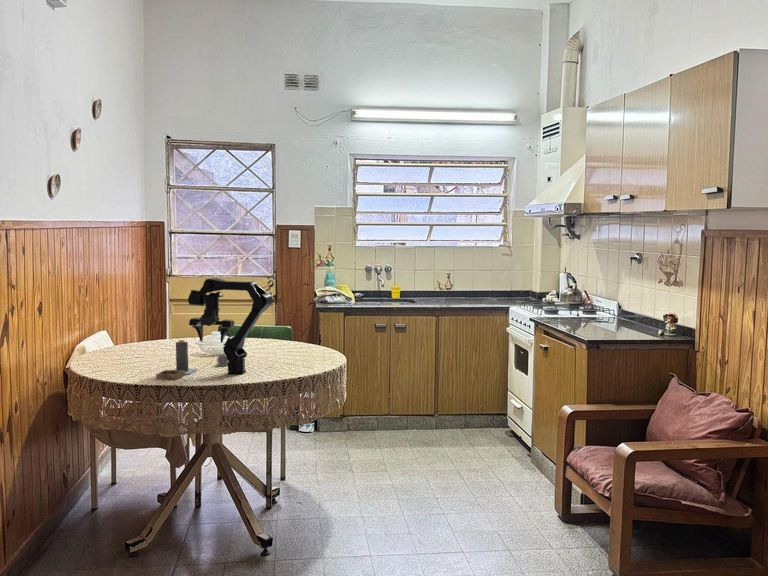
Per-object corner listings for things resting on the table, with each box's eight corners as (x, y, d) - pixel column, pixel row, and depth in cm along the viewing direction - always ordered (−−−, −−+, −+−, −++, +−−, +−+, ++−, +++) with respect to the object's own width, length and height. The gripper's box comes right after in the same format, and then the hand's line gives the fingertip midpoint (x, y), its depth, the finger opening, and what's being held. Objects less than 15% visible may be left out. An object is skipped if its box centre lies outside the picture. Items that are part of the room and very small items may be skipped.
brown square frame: (185, 375, 304) (185, 370, 304) (177, 379, 295) (177, 375, 295) (165, 374, 305) (164, 370, 305) (156, 379, 296) (156, 374, 296)
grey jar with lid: (190, 370, 311) (189, 339, 310) (183, 372, 307) (182, 341, 306) (181, 369, 313) (180, 339, 312) (174, 371, 309) (173, 340, 307)
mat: (197, 370, 314) (197, 368, 314) (189, 375, 305) (189, 373, 305) (175, 369, 315) (175, 368, 315) (166, 374, 306) (166, 373, 306)
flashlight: (229, 359, 341) (229, 348, 340) (240, 360, 340) (240, 348, 339) (217, 365, 326) (217, 354, 325) (228, 366, 325) (228, 354, 324)
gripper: (184, 307, 303) (183, 343, 305) (226, 310, 301) (225, 346, 302) (194, 304, 314) (193, 339, 316) (234, 307, 312) (234, 342, 313)
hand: (211, 342), depth 312 cm, fingers open, 9 cm apart
